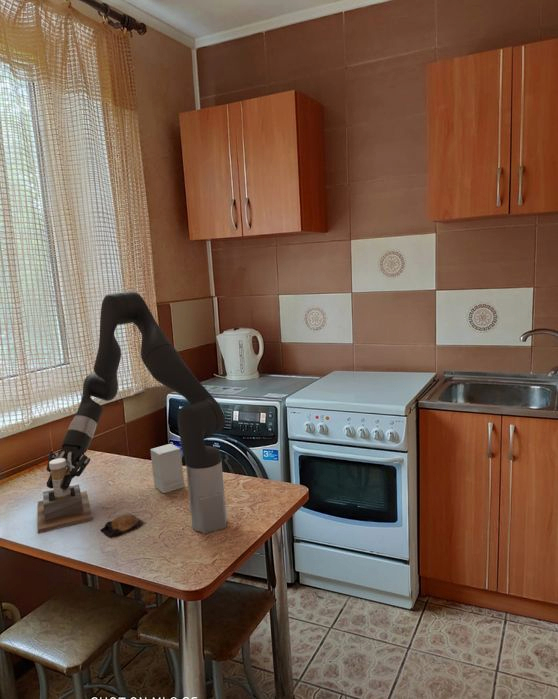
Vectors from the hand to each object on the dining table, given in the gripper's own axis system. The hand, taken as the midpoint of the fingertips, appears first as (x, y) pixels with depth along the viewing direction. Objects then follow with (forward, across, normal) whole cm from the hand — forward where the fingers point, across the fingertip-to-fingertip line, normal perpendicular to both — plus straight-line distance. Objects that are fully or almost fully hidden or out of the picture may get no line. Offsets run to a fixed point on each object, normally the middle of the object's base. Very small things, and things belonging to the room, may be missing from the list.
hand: (56, 488), depth 157 cm
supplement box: (-11, +21, +23) cm, 33 cm away
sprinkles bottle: (+3, 0, +6) cm, 6 cm away
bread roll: (+8, +23, +5) cm, 25 cm away
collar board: (+4, 0, +7) cm, 8 cm away
